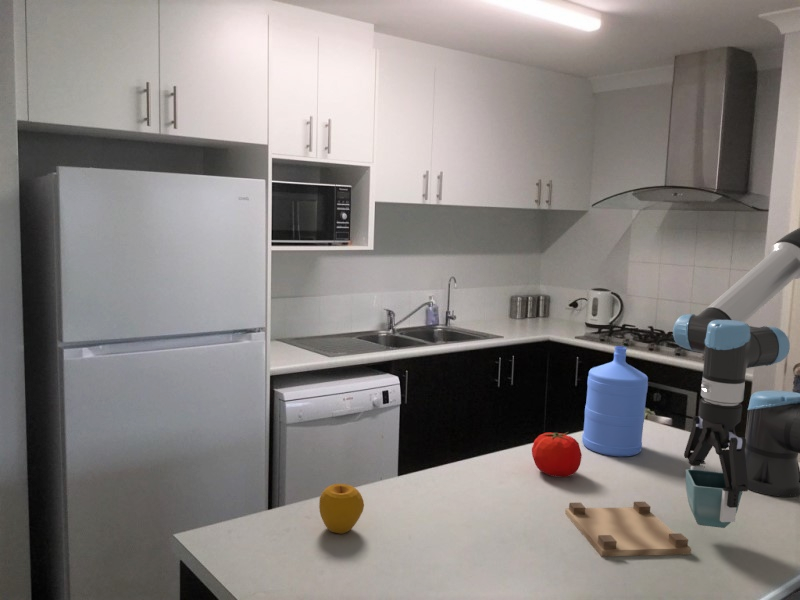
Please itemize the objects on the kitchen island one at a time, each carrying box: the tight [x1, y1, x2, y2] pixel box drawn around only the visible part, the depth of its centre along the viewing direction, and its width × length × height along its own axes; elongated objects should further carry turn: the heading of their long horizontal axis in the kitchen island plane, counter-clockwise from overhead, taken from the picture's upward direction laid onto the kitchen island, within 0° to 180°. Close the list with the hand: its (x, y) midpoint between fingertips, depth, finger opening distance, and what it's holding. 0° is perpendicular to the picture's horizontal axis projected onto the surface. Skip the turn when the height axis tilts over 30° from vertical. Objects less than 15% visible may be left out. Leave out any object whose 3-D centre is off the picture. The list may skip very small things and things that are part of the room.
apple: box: [318, 483, 365, 535], centre depth 135 cm, size 8×8×9 cm
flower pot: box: [685, 468, 743, 529], centre depth 138 cm, size 9×9×9 cm
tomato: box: [531, 431, 583, 478], centre depth 170 cm, size 12×12×10 cm
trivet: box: [565, 501, 692, 558], centre depth 141 cm, size 18×18×3 cm
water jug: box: [581, 345, 649, 458], centre depth 190 cm, size 16×16×28 cm
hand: (710, 508), depth 138 cm, fingers closed on flower pot, 10 cm apart
